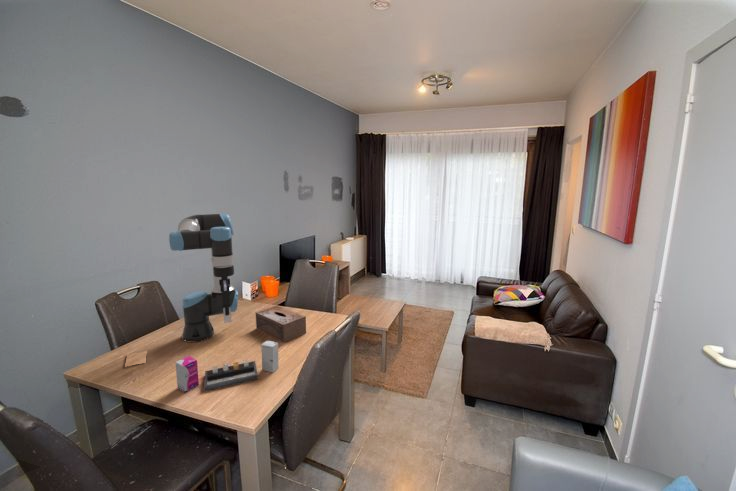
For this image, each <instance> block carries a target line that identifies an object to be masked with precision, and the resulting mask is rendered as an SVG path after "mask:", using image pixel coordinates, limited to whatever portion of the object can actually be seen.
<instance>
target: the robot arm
mask: <svg viewBox="0 0 736 491" xmlns="http://www.w3.org/2000/svg"><path fill="white" fill-rule="evenodd" d="M233 228H234V227H233V224H232V220H231V217H230V215H229V214H227V213H226V214H225V213H210V214H209V213H208V214H194V215H191V216H188V217H185V218H184V219H182V220H181V221H179V223H178V225H177V231H174V232H170V233H169V235H168V240H169V241H168V242H169V247H170V250H171V251H175V252H177V251H180V252H181V251H189V250H190V251H191V250H203V249H205V250H206V249H210V253H211V254H210V255H211V258H210V261H211V266H212V277H213V278H212V279H213V288H212V289H211V292H210V293H208V292H207V291H205V290H203V291H201V290H200V291H195V292H192V293H190V294H188V295H185V297H183V299H182V309H183V317H184V318H183V320H184V327H183V330H182V334H181V337H182V338H183V339H182V341H183V340H186V341H198V342H202V341H201V340H203V341H205V340H204V339H206V340H207V338H208V339H210V338H211V336H212V337H213V336H214V335H213V334H215V330H214V327H213V325H212V323H211V321H210V317H211V316H212V317H213V316H218V315H223V321H224V324H227V323H231V322H232V313H235V312H236V311H237V310H238V304H239V292H238V290H237V289H235V287H234V286H233V285H232V278H231V277H232V276H233V275H234V274H235V266H234V264H235V263H234V254H233V240H232V238H233V236H234V230H233Z"/></svg>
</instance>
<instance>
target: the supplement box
mask: <svg viewBox="0 0 736 491" xmlns="http://www.w3.org/2000/svg"><path fill="white" fill-rule="evenodd" d="M175 373H176V384H177V385H176V386H177V389H178V388H179V390H180V389H181V390H180V391H182V390H183V391H184V392H183V391H182V392H183V393H187V392H189V391H190V389H191V390H193V389H195V388H196V386H197V387H199V386H198V385H200V380H199V370H198V360H197V359H195V358H193V357H192V356H190V355H188V356H186V357H184V358H181V359H179V360H177V361H175ZM194 387H195V388H194ZM192 388H193V389H192ZM188 390H189V391H188ZM186 391H187V392H186Z"/></svg>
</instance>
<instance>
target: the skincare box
mask: <svg viewBox="0 0 736 491" xmlns="http://www.w3.org/2000/svg"><path fill="white" fill-rule="evenodd" d="M260 346H261V369H262V371H266V372H268V373H274V372H276V371H277V370H278V369H279V366H280V365H279V342H276V341H272V340H266V341H264V342H262V344H261V345H260Z"/></svg>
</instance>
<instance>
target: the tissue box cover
mask: <svg viewBox="0 0 736 491" xmlns="http://www.w3.org/2000/svg"><path fill="white" fill-rule="evenodd" d="M306 317H307V316H306V315H303V314H301V313H298V312H296V311H293V310H291V309H288V308H286V307H282V306H280V305H278V304H277V305H274V306H271V307H267V308H264V309H262V310H259V311H255V327H256V330H258V331H260V332H262V333H265V334H267V335H268V336H270V337H272V338H274V339H277V340H278V341H280V342H283V343H286V342H289V341H292V340H294V339H296V338H299V337H300V336H303V335H305V334H307V320H306V319H307V318H306Z"/></svg>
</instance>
